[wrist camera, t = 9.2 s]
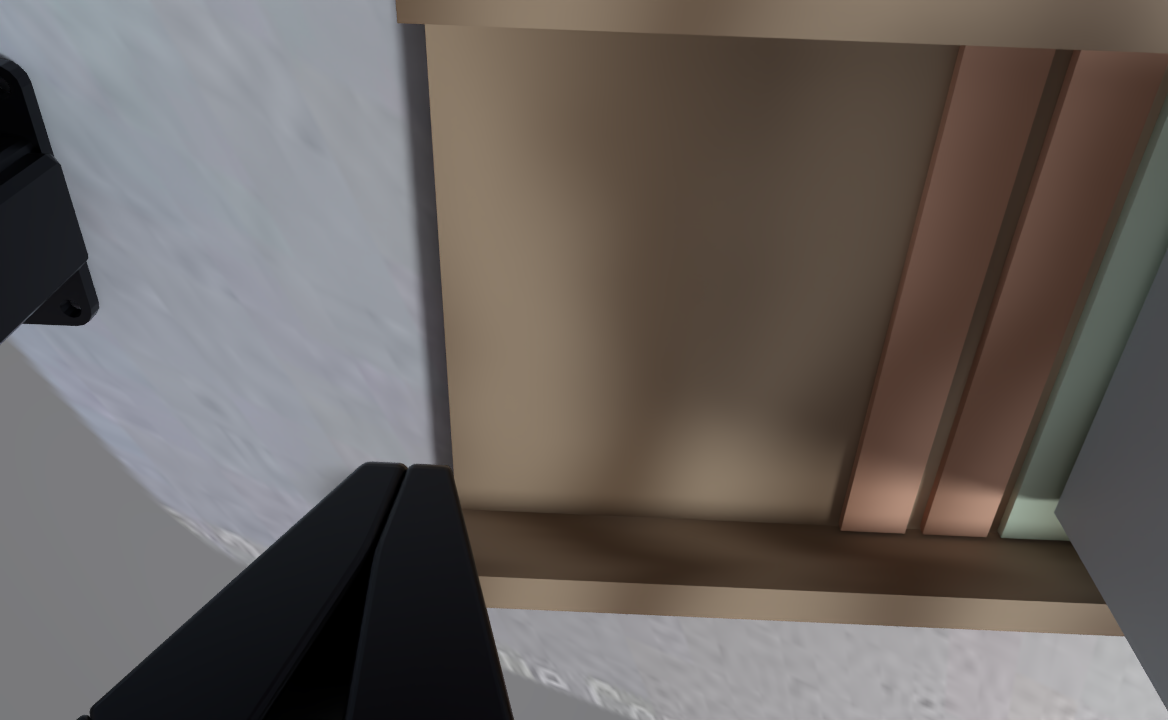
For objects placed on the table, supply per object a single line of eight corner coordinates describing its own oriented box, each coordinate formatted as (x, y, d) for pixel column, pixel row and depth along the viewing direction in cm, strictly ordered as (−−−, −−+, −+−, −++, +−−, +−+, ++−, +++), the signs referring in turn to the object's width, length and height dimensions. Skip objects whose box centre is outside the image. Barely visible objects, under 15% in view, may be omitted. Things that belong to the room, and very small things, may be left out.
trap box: (460, 527, 27) (431, 667, 23) (422, -78, 18) (364, -27, 14) (1243, 561, 27) (1358, 710, 23) (1607, -33, 18) (1909, 34, 14)
